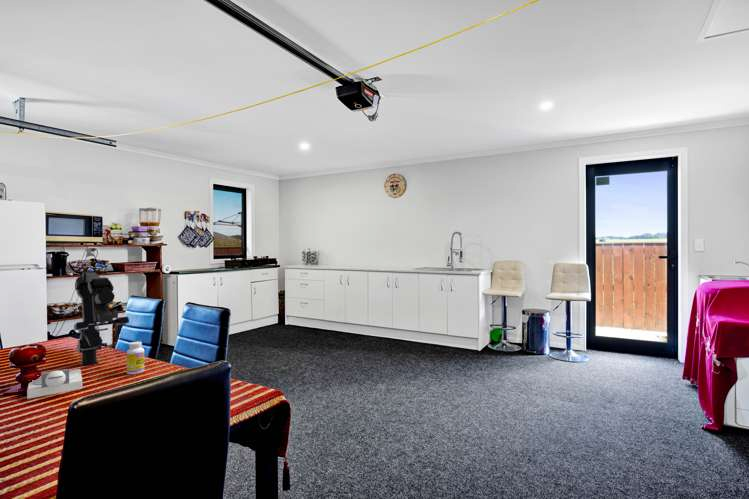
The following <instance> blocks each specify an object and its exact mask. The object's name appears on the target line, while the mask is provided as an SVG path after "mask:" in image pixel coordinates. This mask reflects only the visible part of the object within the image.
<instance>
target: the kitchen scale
mask: <svg viewBox="0 0 749 499" xmlns="http://www.w3.org/2000/svg"><path fill="white" fill-rule="evenodd" d="M40 375H41V376H40V377H39V378H38V379H36V380H32V382H30V383H29V382H28V385H27V386H28V387H27V390H26V394H27V395H26V396H27V397H26V398H27V400H28V399H33V398H35V399H36V398H39V397H44V396H51V395H55V394H61V393H66V392H72V391H78V390H81V389H83V376H82V371H81V368H76V369H70V368H64V369H59V370H52V371H47V372H46V371H45V372H41V374H40Z"/></svg>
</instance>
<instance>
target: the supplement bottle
mask: <svg viewBox="0 0 749 499" xmlns="http://www.w3.org/2000/svg"><path fill="white" fill-rule="evenodd" d="M142 345H143V343H142V341H132V342H128V347H129V348H128V349H127V350H126V374H128V375H137V374H142V373H143V372H144V371H145V349H144V347H142Z"/></svg>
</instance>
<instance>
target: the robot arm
mask: <svg viewBox="0 0 749 499" xmlns="http://www.w3.org/2000/svg"><path fill="white" fill-rule="evenodd" d="M114 289H115V288H114V285H113V283H112V281H111V279H109V278H108V277H101V276H100V275H99V274H98V273H97V271H93V270H92V271H84V272H82V274H81V275H79V277H77V278H76V279H75V282H74V290H75V291H76V295H77V296H78V297H79V298H80V299H81V311H82V312H81V313H82V321H77V322H76V323H75V324H74V325H73V331H77V332H78V333H80V335H79V339H78V342H77V344H76V345H77V346H76V349H77V350H76V351H77V353H78V354H81V362H80V366H81V367H84V366H91V365H99V360H98V351H99V350H100V351H101V350H102V348H103V346H102V345H103V338H102V337H101V335H100V331H99V330H97V329H96V327H100V326H109V325H115V326H114V340H115V342H116V343H117V342H118V340H119V336H120V334H121V331H122V328H123V327H124V326H126V325H127V324H129V323H130V318H129V317H128V316H122V317H119V311H118V309H111V310H110V303H112V302H113V301H114V300H115V293H114V292H113V291H114Z"/></svg>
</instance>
